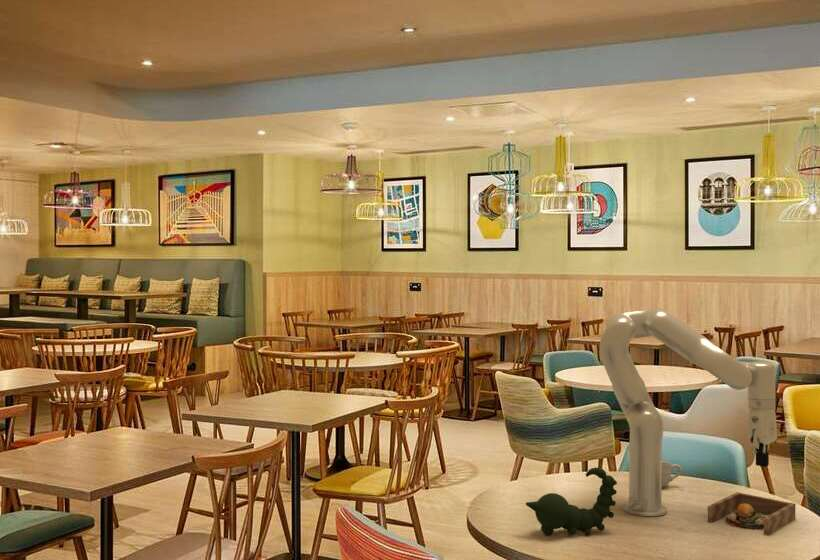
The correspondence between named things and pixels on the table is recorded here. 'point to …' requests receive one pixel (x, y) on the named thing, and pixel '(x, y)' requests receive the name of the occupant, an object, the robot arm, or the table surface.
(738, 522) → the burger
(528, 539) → the table surface
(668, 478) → the teacup
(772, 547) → the table surface
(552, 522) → the toy figurine
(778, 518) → the wooden u-shaped wall
